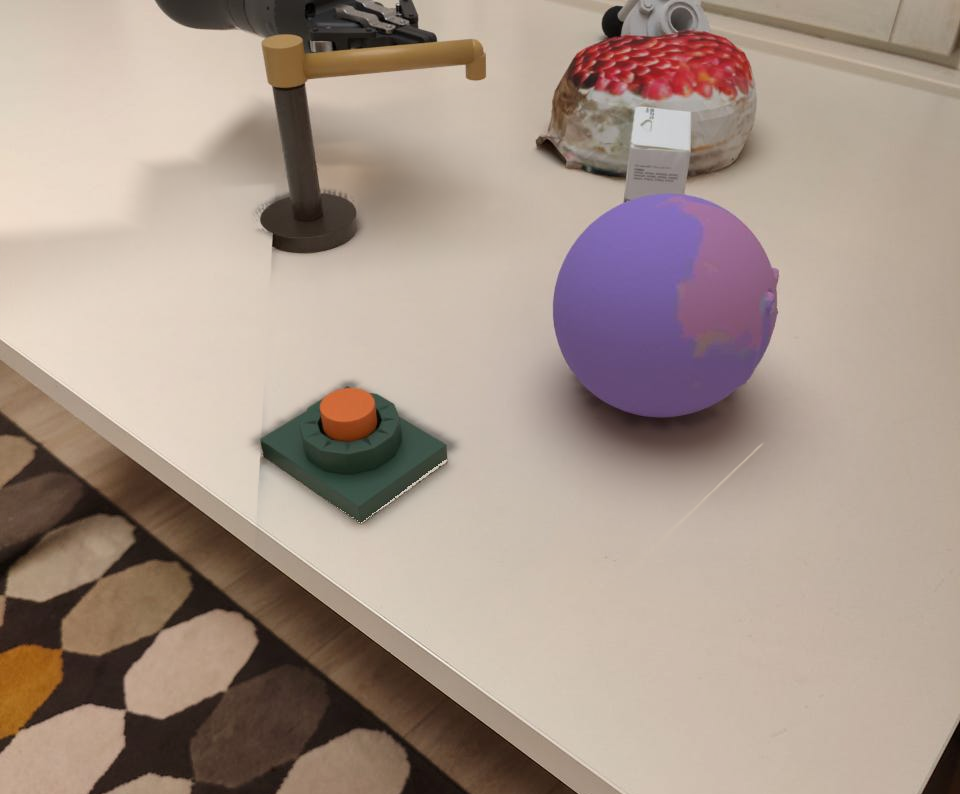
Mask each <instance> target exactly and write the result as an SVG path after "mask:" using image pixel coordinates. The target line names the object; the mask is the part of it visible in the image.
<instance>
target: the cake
mask: <svg viewBox="0 0 960 794" xmlns="http://www.w3.org/2000/svg"><path fill="white" fill-rule="evenodd" d="M756 86H757V85H756V81H755V76H754V73H753V68H752V65H751V63H750V60H749V59H748V57H747V55H746V53H745V52H744V51H743V50H742V49H740V48H739V47H737V46H736V45H735V44H734V43H733V42H732V41H730V40H729V39H728V38H727V37H725V36H721V35H718V34H715V33H712V32H710V33H708V32H705V31H692V30H686V31H679V32H677V33H673V34H666V35H661V36H656V37H653V36H636V35H624V36H621V37H612V38H607V39H606V38H605V39H604V40H601V41H599V42H597V43H594V44H592V45H589V46H586V47H585V48H583V49H582V50H581V51H580V50H579V52H577V53H576V55H575V56H574V57H573V58H572V60H571V61H570V64H569V66H568V67H567V69H566V70H565V72H564V73H563V75H562V77H561V79H560V81H559V82H558V84H557V86H556V88H555V89H554V93H553V96H552V99H551V100H552V101H551V111H550V112H551V114H550V115H551V116H550V122H549V125H548V129H547V130H548V133H547V134H546V135H545V134H540V135H539V136H538V137H537V138H536V139H535V145H536V148H539V147H540V146H541V145H542V144H543V143H544V142H545V141H546V140H549V141H550V142H551V143H552V144H553V146H554V147H555V148H556V149H557V150H558V152H559V153H560V154H561V155H562V156H563V157H564V158H565V160H566V163H565V168H566V169H567V168H568V169H569V168H570V169H571V168H574V169H579V170H582V171H585V172H586V173H591V174H593V175H599V176H605V177H612V178H621V179H626V175H627V167H628V159H629V150H630V142H631V134H632V127H633V120H634V113H635V108H636V107H650V108H658V109H667V110H677V111H690V112H691V153H690V159H689V166H688V173H687V178H690V177H695V176H700V175H704V174H709V173H713V172H716V171H720V170H722V169H724V168H726V167H729V166H730V165H731V164H733V163H734V162H735V161H737V159H738V158H739V155H740V154H741V152H742V150H743V148H744V146H745V143H746V142H747V140H748V139H749V136H750V134H751V132H752V130H753V126H754V125H755V120H756V114H757V107H758V106H757V105H758V104H757V103H758V97H757V88H756Z"/></svg>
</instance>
